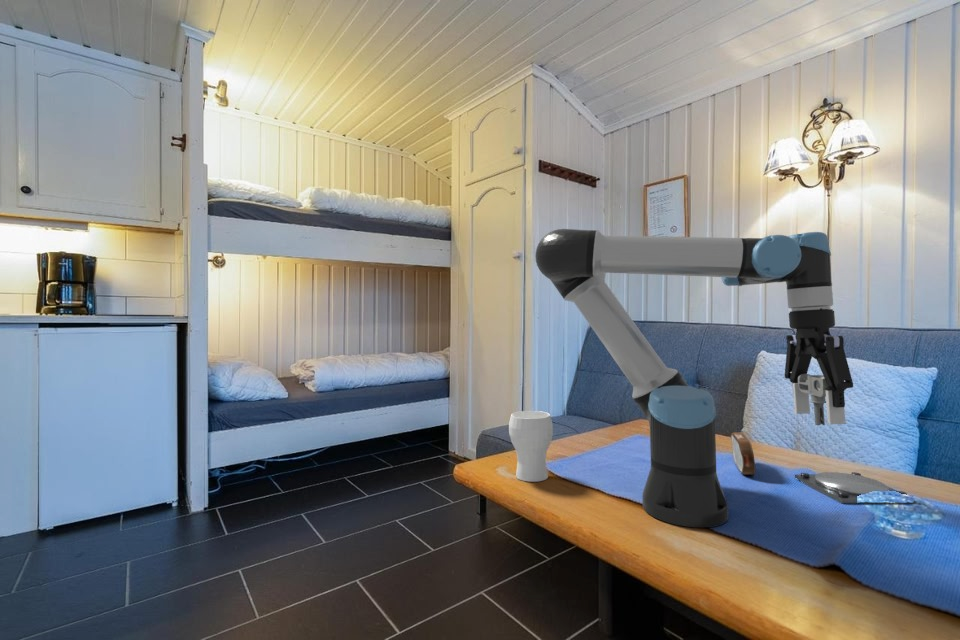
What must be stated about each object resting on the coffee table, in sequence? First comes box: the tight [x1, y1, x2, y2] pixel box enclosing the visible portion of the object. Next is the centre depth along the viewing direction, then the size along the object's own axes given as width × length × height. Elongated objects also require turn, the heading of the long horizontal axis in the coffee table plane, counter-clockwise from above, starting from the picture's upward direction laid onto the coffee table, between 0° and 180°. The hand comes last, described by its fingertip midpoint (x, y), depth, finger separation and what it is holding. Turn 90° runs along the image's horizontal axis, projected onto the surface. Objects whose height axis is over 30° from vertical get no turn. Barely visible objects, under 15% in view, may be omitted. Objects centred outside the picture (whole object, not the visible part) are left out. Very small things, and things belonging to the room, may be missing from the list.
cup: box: [508, 410, 554, 483], centre depth 108 cm, size 11×11×15 cm
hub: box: [794, 471, 908, 504], centre depth 95 cm, size 14×14×2 cm
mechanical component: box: [798, 373, 835, 426], centre depth 91 cm, size 3×10×10 cm, turn 172°
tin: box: [730, 431, 756, 477], centre depth 109 cm, size 15×3×8 cm, turn 159°
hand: (818, 418), depth 91 cm, fingers closed on mechanical component, 10 cm apart
